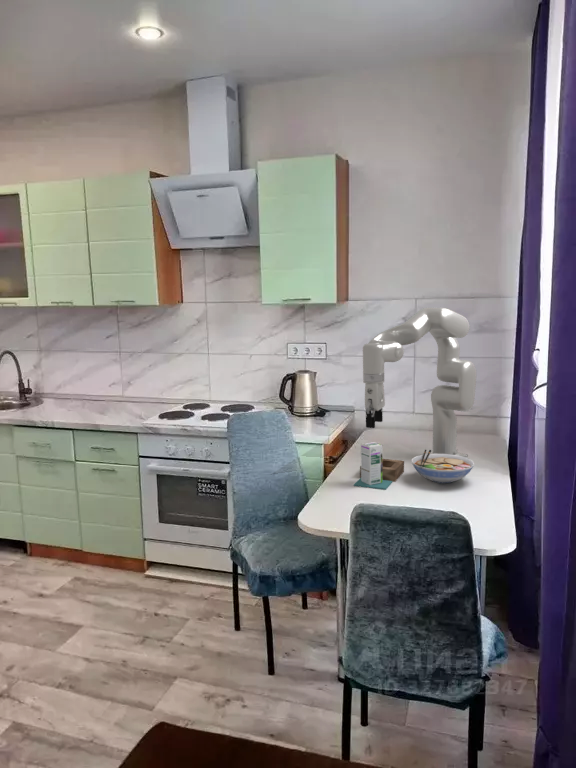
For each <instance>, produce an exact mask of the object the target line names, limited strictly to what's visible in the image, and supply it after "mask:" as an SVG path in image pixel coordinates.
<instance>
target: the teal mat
mask: <svg viewBox="0 0 576 768" xmlns="http://www.w3.org/2000/svg"><path fill="white" fill-rule="evenodd" d="M392 484H393V482H392V481H388V480H383V482H382V483H378V484H373V485H368V484H366V483H364V482H362V481H361V478H360V477H359V479H358V480H357V481H355V483H353V487H359V486H361V487H362V488H367V487H369V488H370V489H377V490H384V491H385V490H387V489H388V488H389V487H390V486H391V485H392ZM361 487H360V488H361ZM369 488H368V489H369Z"/></svg>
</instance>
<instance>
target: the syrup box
mask: <svg viewBox="0 0 576 768" xmlns="http://www.w3.org/2000/svg"><path fill="white" fill-rule="evenodd" d="M382 459H383V444H381V443H379V442H377V441H376V442H375V441H372V442H367V443H361V444H360V466H361V481H362V482H364V483H366V484H368V485H373V484H378V483H382V482H383V472H382Z"/></svg>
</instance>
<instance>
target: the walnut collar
mask: <svg viewBox="0 0 576 768" xmlns="http://www.w3.org/2000/svg"><path fill="white" fill-rule="evenodd" d="M382 472H383V480H388V481H392V483H396V482H397V480H398V479H399V478H400V477H401V476H402V475H403V473H405V460H403V459H401V460H400V459H393V458H392V459H391V458H390V459H389V458H382ZM360 478H361V465H360V466H359V479H360Z"/></svg>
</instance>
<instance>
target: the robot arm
mask: <svg viewBox="0 0 576 768" xmlns="http://www.w3.org/2000/svg"><path fill="white" fill-rule="evenodd" d="M470 327H471V326H470V323H469V321H468V319H467V317H465V316H463V315H462V314H459V312H456V311H454V310H451V309H449V308H445V307H425V308H421V309H420V310H418V311H417V312H416V313H415V314H414V315H413V316H411V317H410V318H408V319H407V320H406V321H404V322H403V323H402V324H399V325H396V326H394V327H391V328H389V329H386V330H384V331H381V332H380V333H379V334H377V335H376V336H374V337H373V338H372V339H371V340H369V342H368V343H366V344H364V345H363V346H362V378H363V379H362V381H363V384H365V385H364V387H365V388H364V408H365V427H366V429H367V428H368V429H375V428H376V423H377V422H378V423H382V422H383V421H384V420H383V418H384V417H383V408H384V407H385V405H386V402H385V401H386V400H385V389H384V387H385V386H384V383H385V363H397V362H399V361H400V360H401V359H402V358H403V357H404V353H405V351H404V350H405V349H404V346H407V345H411V344H415V343H417V342H418V341H419V340H420V339H422V338H423V337H425V336H426V334H428V333H429V334H430V335H431V336H432V337H433V339H434V340H435V342H436V344H437V362H436V363H437V364H436V377H437V379H438V380H439V381H440V382H446V383H452V384H458V386H454V385H443V384H441V385H437V386H435V387H434V388H433V389H432V390H431V393H430V402H431V406H432V449H431V452H432V453H431V454H450V455H458V456H462V457H466V458H468V454H466V453H460V452H459V450H458V449H457V435H458V434H457V432H458V429H457V428H458V427H457V426H458V419H457V416H456V412H468V411H471V409H472V408H473V407H474V404H475V395H476V388H477V387H476V383H477V369H476V366H475V364H474V363H473V362H472V361H470V360H467V359H466V360H465V359H460V352H461V351H460V344H459V341H458V339H462V338H465V337H466V336H467V335H468V333H469V331H470ZM455 411H456V412H455Z"/></svg>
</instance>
